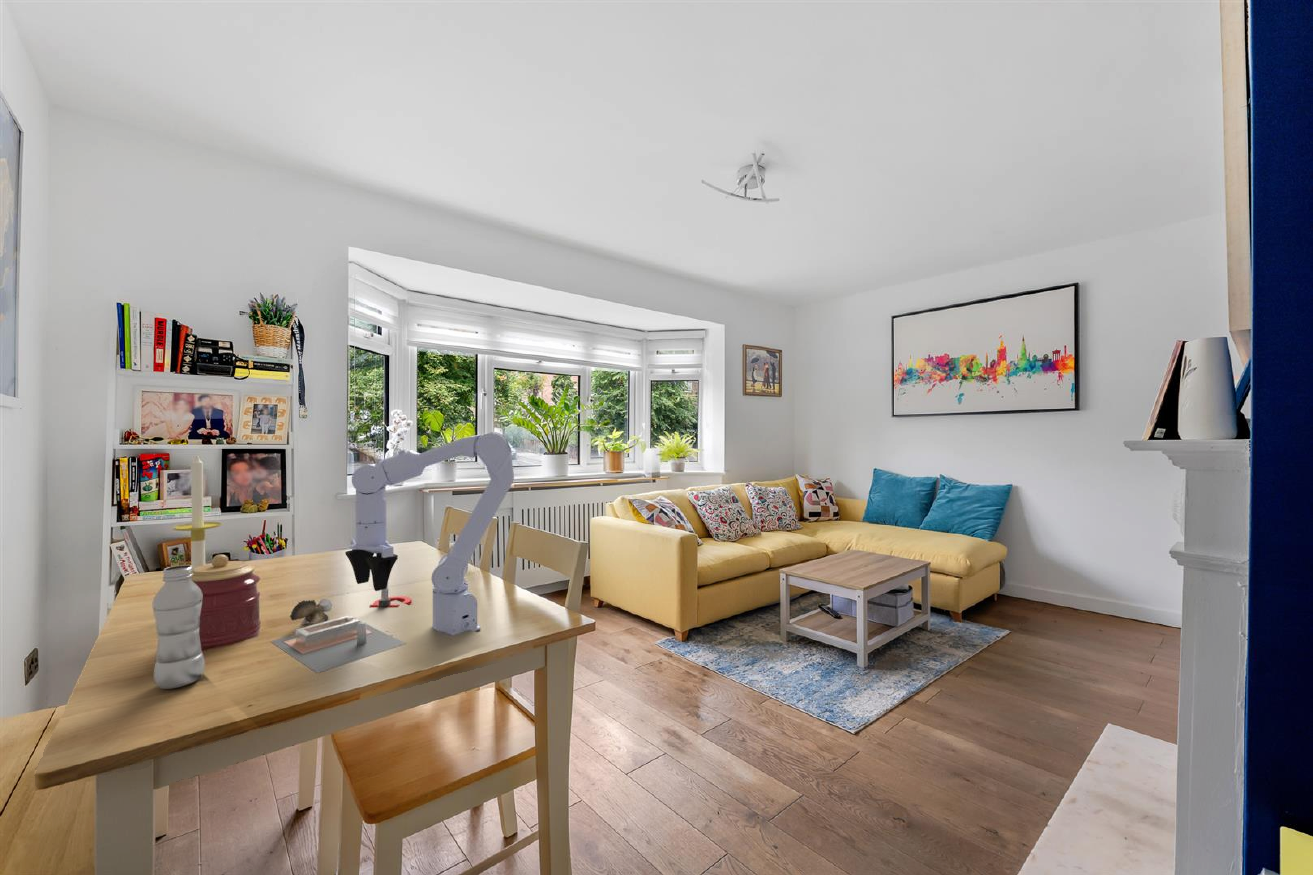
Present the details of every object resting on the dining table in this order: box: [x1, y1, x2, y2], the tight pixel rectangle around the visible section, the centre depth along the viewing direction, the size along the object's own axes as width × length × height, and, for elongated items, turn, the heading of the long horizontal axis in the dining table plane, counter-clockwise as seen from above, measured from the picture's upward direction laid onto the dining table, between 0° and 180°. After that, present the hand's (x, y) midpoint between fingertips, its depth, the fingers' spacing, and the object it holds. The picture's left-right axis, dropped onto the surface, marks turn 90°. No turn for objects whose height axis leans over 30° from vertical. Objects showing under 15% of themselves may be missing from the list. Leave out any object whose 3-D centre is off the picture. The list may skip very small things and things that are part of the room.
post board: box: [270, 617, 407, 674], centre depth 107 cm, size 22×16×5 cm
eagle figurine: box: [289, 598, 333, 627], centre depth 117 cm, size 8×7×9 cm
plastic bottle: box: [151, 564, 206, 690], centre depth 91 cm, size 6×7×20 cm
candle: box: [173, 452, 222, 570], centre depth 125 cm, size 10×10×38 cm
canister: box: [191, 554, 262, 652], centre depth 109 cm, size 13×13×18 cm
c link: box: [295, 615, 361, 648], centre depth 109 cm, size 5×10×2 cm, turn 143°
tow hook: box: [369, 583, 413, 609], centre depth 132 cm, size 8×13×9 cm
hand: (371, 586), depth 113 cm, fingers open, 7 cm apart
